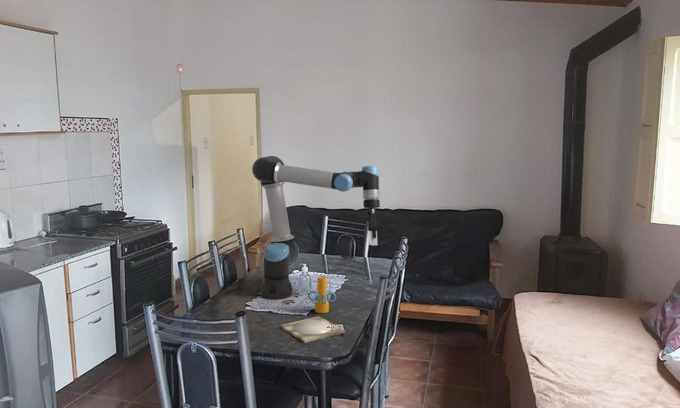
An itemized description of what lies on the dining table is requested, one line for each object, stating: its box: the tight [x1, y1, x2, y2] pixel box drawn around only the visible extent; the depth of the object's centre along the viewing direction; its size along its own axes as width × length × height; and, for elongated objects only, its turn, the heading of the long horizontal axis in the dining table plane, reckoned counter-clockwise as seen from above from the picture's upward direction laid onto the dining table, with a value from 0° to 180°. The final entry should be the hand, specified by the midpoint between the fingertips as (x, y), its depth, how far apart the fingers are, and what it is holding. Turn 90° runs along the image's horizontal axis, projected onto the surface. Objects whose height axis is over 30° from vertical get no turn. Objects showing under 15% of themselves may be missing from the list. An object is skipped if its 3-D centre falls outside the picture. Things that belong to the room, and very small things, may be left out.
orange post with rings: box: [307, 275, 337, 314], centre depth 227 cm, size 12×10×15 cm
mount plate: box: [280, 315, 346, 344], centre depth 206 cm, size 18×18×1 cm
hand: (373, 245), depth 245 cm, fingers open, 13 cm apart
